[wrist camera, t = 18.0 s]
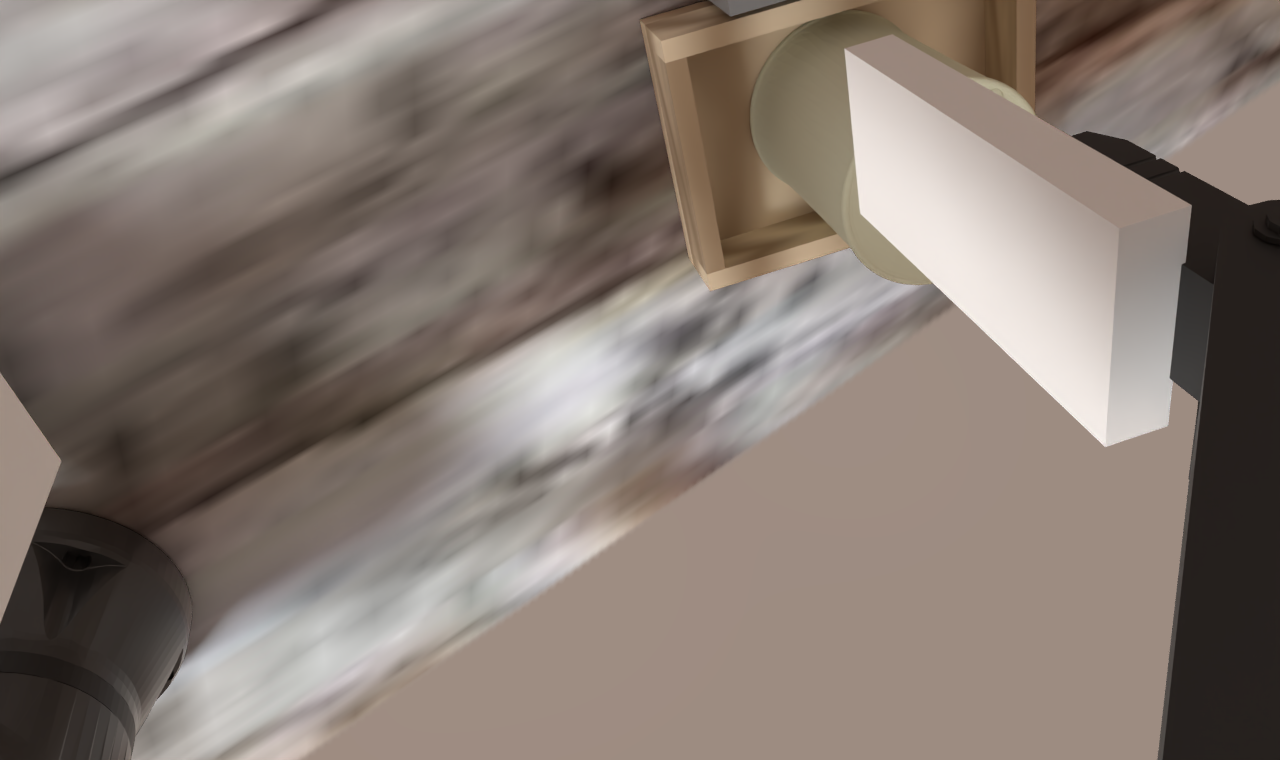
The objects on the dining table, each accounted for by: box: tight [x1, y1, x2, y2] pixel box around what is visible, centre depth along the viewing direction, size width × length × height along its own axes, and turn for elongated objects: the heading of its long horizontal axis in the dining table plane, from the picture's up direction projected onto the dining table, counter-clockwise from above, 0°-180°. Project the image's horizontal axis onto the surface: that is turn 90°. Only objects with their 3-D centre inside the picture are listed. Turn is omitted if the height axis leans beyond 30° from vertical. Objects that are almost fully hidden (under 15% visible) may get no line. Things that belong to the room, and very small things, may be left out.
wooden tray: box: [640, 0, 1036, 291], centre depth 52 cm, size 18×13×4 cm
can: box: [750, 10, 1037, 285], centre depth 47 cm, size 9×9×12 cm
